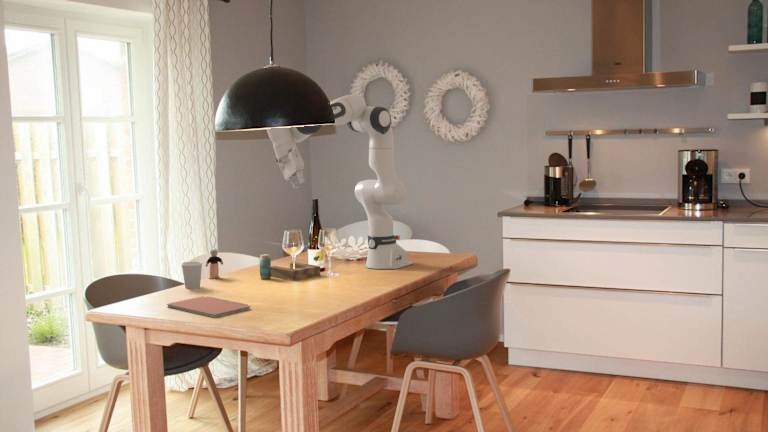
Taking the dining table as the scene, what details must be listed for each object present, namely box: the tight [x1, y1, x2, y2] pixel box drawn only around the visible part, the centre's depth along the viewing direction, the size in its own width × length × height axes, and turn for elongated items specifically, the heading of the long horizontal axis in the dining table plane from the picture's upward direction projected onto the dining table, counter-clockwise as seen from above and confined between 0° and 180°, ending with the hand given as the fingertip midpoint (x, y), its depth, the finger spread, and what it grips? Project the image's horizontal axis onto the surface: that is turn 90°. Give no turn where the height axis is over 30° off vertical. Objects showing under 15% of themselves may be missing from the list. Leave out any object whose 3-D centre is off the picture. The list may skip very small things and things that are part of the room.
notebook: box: [166, 296, 251, 318], centre depth 288 cm, size 27×17×2 cm, turn 50°
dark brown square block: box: [270, 261, 321, 282], centre depth 346 cm, size 15×16×4 cm
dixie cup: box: [180, 260, 203, 290], centre depth 324 cm, size 8×8×10 cm
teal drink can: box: [258, 253, 272, 281], centre depth 340 cm, size 5×5×10 cm
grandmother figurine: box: [204, 247, 224, 280], centre depth 344 cm, size 8×4×13 cm, turn 131°
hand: (299, 185), depth 321 cm, fingers open, 8 cm apart
